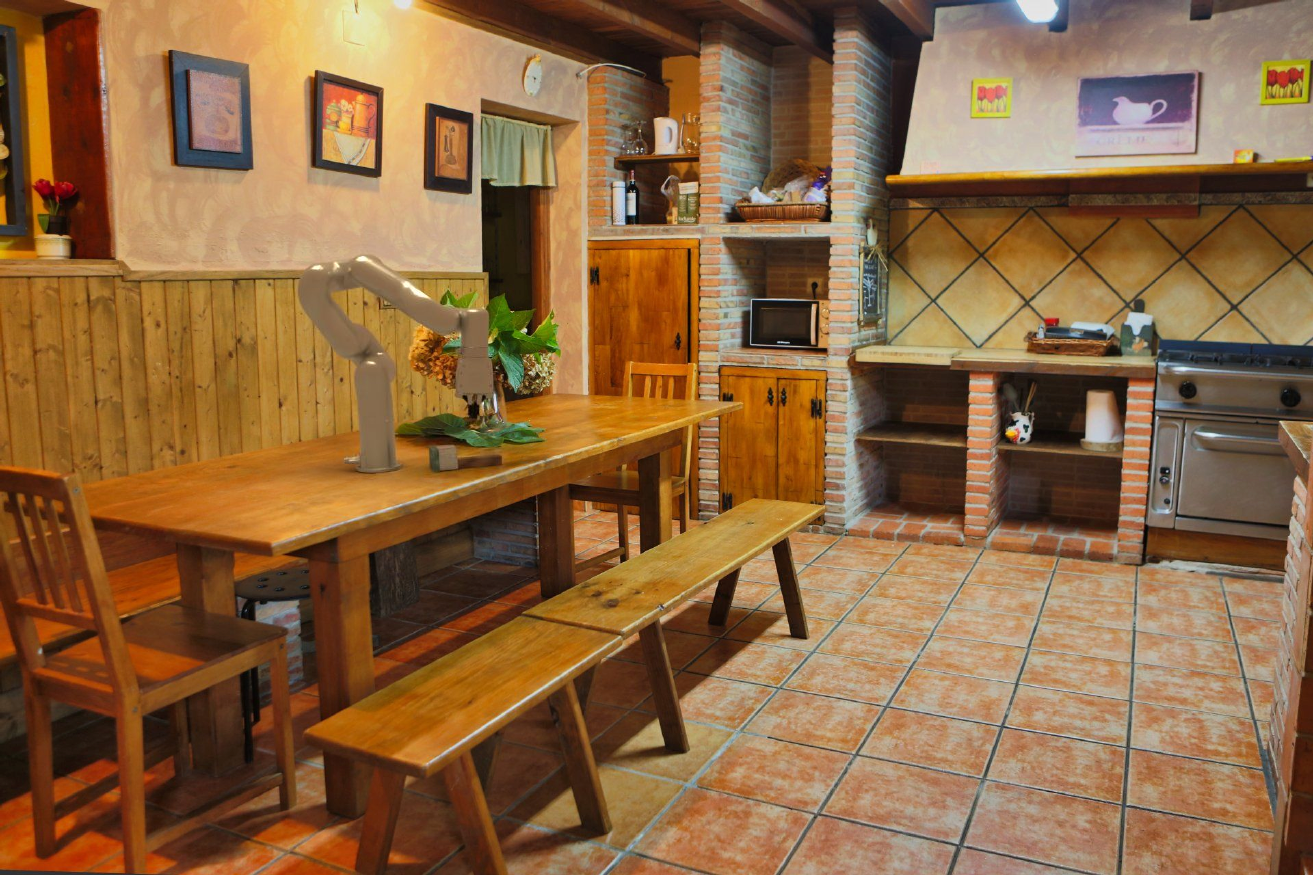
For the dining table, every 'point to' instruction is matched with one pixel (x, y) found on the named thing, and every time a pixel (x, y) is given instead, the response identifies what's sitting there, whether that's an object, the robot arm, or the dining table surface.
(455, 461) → the keeper
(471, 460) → the rail
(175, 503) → the dining table surface
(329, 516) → the dining table surface
